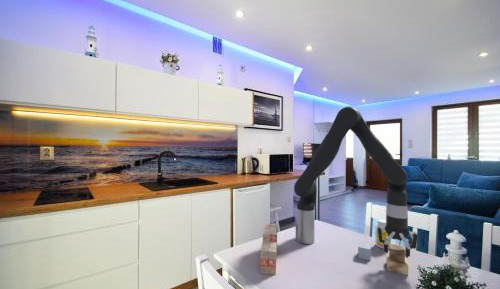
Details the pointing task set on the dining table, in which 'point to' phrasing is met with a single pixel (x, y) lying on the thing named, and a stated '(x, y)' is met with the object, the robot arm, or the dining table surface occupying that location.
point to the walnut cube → (397, 253)
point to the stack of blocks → (269, 250)
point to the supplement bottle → (382, 224)
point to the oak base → (396, 266)
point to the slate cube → (364, 251)
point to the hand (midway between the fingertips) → (396, 254)
